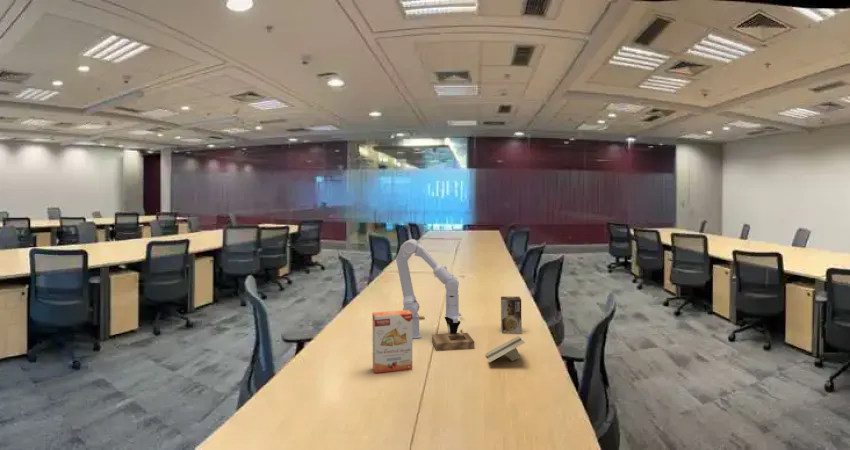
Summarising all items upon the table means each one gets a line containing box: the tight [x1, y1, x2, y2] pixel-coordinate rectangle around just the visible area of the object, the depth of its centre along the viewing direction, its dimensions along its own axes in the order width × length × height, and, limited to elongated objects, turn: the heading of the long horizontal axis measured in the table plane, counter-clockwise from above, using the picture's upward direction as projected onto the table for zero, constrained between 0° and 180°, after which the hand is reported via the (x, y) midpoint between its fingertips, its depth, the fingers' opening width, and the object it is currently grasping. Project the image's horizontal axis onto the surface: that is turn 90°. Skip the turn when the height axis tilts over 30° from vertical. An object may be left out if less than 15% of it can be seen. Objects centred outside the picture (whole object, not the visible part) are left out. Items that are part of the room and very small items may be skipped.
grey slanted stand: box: [484, 335, 526, 363], centre depth 160 cm, size 16×9×15 cm
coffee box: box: [500, 296, 523, 334], centre depth 196 cm, size 9×6×16 cm
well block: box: [431, 332, 476, 352], centre depth 178 cm, size 16×12×3 cm
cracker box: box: [372, 309, 413, 374], centre depth 152 cm, size 14×6×21 cm, turn 105°
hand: (452, 334), depth 189 cm, fingers open, 5 cm apart
